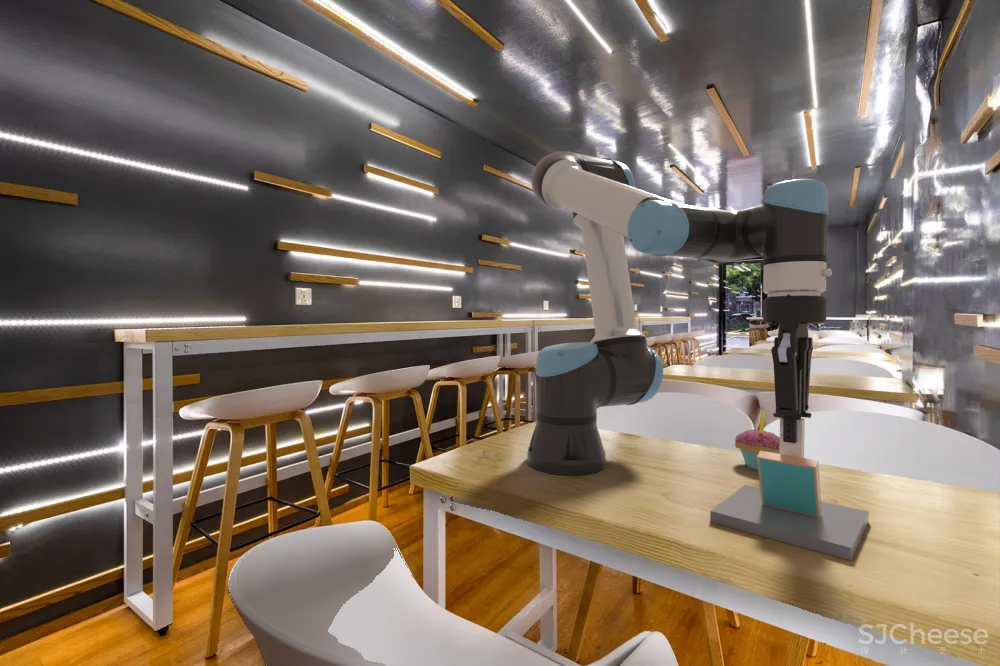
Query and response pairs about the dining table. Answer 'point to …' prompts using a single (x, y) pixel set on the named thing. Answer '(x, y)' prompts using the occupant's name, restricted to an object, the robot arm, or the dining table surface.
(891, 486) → the dining table surface
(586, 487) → the dining table surface
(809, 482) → the tile
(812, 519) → the board
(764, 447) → the cupcake
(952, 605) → the dining table surface
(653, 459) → the dining table surface
